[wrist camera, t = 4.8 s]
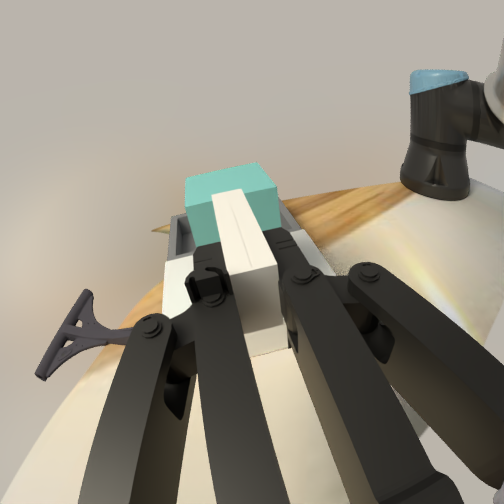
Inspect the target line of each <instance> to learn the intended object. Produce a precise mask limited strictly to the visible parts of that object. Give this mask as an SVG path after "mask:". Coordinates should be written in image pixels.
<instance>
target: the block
mask: <svg viewBox="0 0 504 504" xmlns="http://www.w3.org/2000/svg"><path fill="white" fill-rule="evenodd" d="M236 189H242V191H243V193H244V195H245V197H246V199H247V202H248V204H249V206H250V208H251V210H252V212H253V214H254V216H255V218H256V220H257V222H258V224H259V226H260V229H261V231H265V230H269V229H274V228H279V227H281V219H280V210H279V201H278V193H277V186H276V185H275V184H274V183H273V182H272V180H271V179H270V178H269V177H268V175H267V174H266V173H265V172H264V171H263V169H262V168H261V167H260V165H259V164H258V163H257V162H256V163H252V164H246V165H241V166H236V167H231V168H227V169H223V170H218V171H213V172H209V173H205V174H201V175H196V176H192V177H188V178H186V185H185V209H186V213H187V217H188V220H189V224H190V227H191V231H192V234H193V238H194V241H195V244H196V248H197V247H198V246H203V245H207V244H211V243H216V242H220V241H221V240H220V235H219V231H218V226H217V221H216V216H215V211H214V206H213V201H212V196H211V195H213V194H218V193H222V192H227V191H231V190H236Z"/></svg>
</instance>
